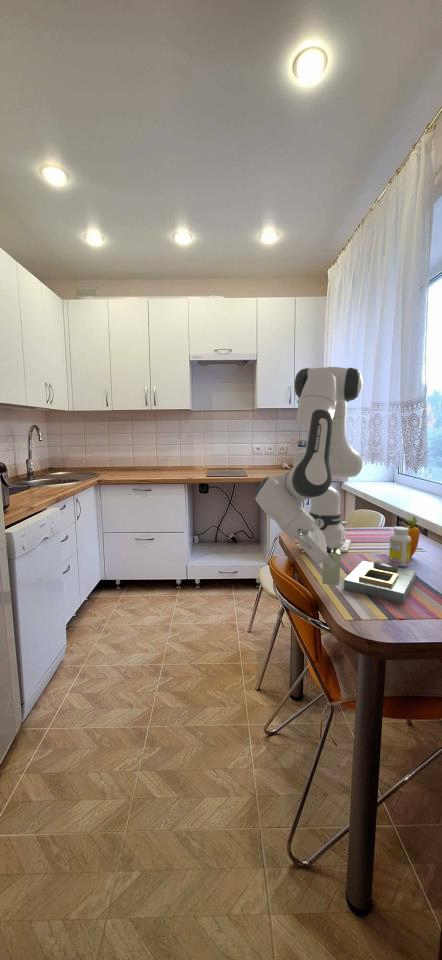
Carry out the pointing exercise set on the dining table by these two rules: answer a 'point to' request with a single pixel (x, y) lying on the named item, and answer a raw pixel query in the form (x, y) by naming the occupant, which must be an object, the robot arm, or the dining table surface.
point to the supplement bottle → (400, 546)
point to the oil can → (328, 572)
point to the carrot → (413, 535)
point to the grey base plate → (381, 580)
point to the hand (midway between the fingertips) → (333, 561)
